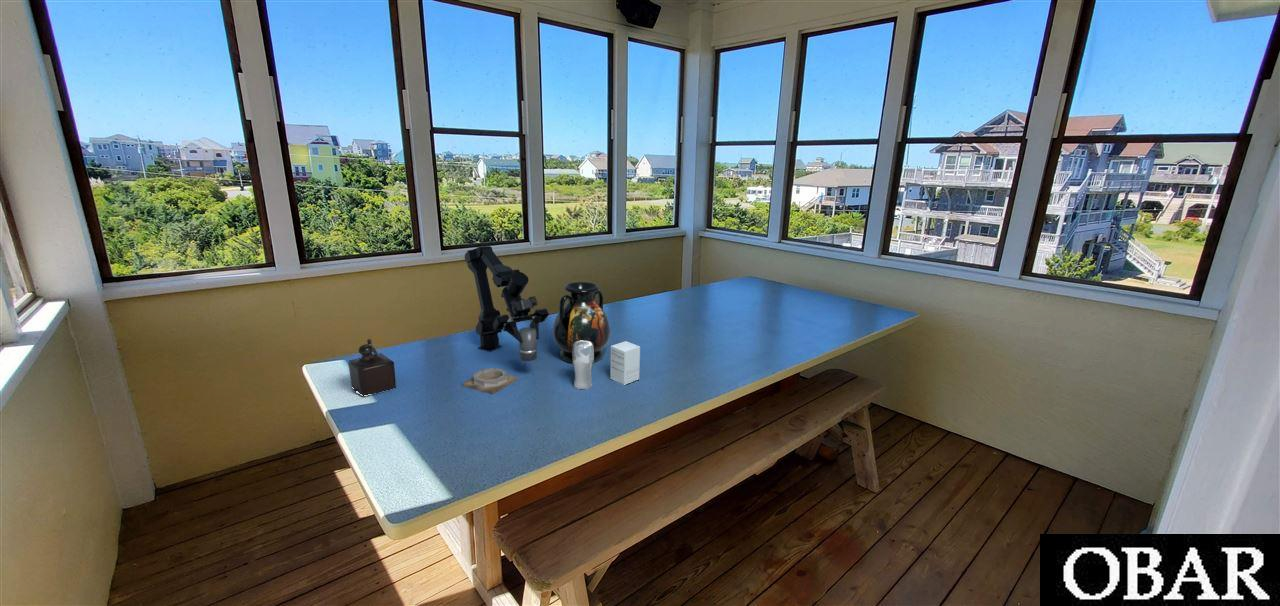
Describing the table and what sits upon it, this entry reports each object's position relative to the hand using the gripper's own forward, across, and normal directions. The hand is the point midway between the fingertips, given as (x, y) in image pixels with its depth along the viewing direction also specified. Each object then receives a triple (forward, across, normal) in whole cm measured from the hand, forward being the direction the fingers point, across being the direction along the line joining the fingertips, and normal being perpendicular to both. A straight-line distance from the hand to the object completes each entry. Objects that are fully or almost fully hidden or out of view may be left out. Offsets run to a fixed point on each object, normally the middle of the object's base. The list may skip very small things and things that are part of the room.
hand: (529, 340), depth 172 cm
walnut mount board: (+7, -13, +12) cm, 19 cm away
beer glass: (+21, +11, -2) cm, 24 cm away
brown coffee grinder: (-3, -44, +23) cm, 50 cm away
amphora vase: (+5, +25, +14) cm, 29 cm away
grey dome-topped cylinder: (+4, 0, +6) cm, 7 cm away
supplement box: (+24, +25, -4) cm, 35 cm away
